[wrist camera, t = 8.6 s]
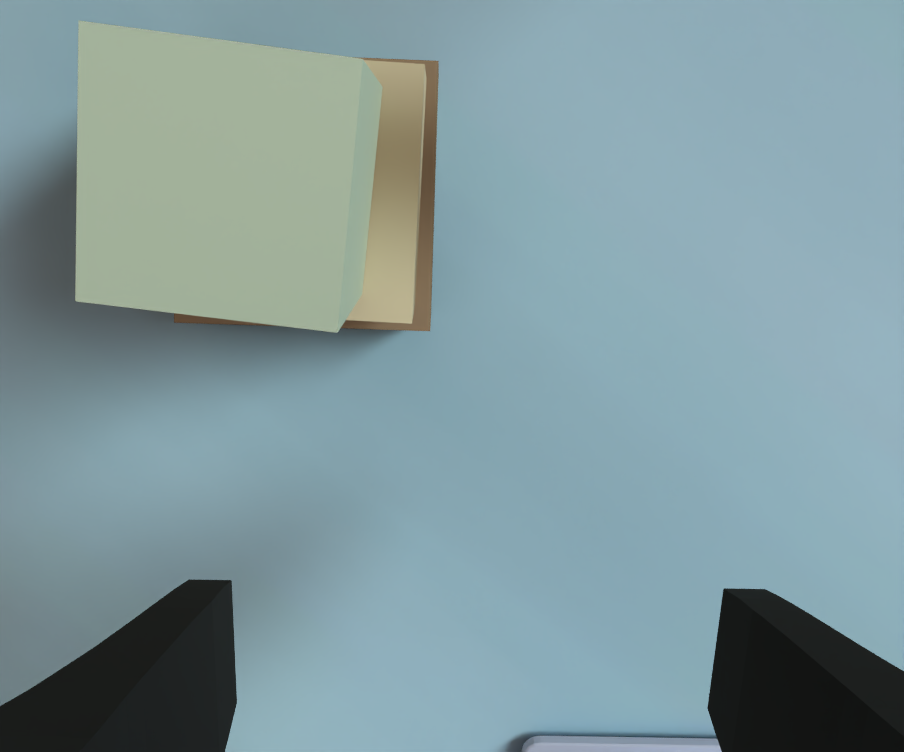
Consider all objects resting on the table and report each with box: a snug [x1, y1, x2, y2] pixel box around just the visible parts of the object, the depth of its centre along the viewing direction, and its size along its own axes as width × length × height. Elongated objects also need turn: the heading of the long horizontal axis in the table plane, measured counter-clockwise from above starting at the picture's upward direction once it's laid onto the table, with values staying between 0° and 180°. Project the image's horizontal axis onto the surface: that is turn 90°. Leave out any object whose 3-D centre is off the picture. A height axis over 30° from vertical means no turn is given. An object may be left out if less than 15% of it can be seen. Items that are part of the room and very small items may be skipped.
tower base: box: [174, 57, 438, 331], centre depth 20 cm, size 6×6×2 cm
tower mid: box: [346, 60, 426, 324], centre depth 17 cm, size 5×5×2 cm
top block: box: [75, 21, 383, 333], centre depth 14 cm, size 4×4×4 cm
